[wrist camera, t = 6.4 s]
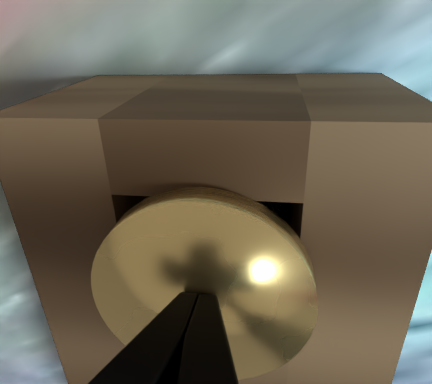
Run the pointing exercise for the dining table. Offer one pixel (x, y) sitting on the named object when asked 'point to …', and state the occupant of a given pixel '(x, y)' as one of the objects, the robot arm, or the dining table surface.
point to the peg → (210, 272)
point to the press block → (237, 183)
